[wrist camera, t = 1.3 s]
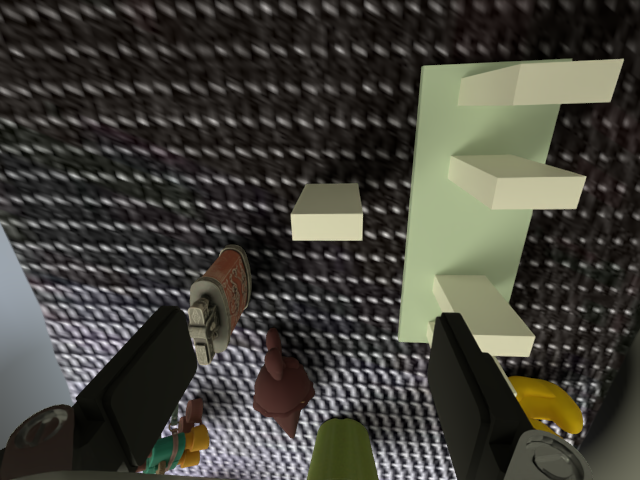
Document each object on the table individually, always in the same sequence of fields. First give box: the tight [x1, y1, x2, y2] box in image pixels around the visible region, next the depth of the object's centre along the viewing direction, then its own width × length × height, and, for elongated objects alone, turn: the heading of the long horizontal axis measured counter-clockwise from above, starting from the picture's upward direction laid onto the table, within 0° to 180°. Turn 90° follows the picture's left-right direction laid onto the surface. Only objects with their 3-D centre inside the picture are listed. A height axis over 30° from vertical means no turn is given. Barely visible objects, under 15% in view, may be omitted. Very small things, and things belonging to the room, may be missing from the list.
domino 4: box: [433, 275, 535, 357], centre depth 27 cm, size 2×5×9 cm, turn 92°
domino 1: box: [291, 183, 363, 240], centre depth 25 cm, size 2×5×9 cm, turn 92°
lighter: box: [188, 245, 251, 365], centre depth 30 cm, size 8×3×10 cm, turn 179°
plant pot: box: [307, 418, 379, 480], centre depth 39 cm, size 12×12×11 cm
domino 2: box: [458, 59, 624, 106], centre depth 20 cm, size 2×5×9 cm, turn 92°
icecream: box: [253, 328, 315, 438], centre depth 36 cm, size 7×8×15 cm
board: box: [398, 59, 572, 343], centre depth 29 cm, size 28×11×1 cm, turn 2°
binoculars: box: [135, 398, 209, 475], centre depth 40 cm, size 9×9×10 cm
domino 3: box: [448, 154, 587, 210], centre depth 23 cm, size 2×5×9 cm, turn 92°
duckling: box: [508, 376, 583, 440], centre depth 33 cm, size 11×5×10 cm, turn 109°
